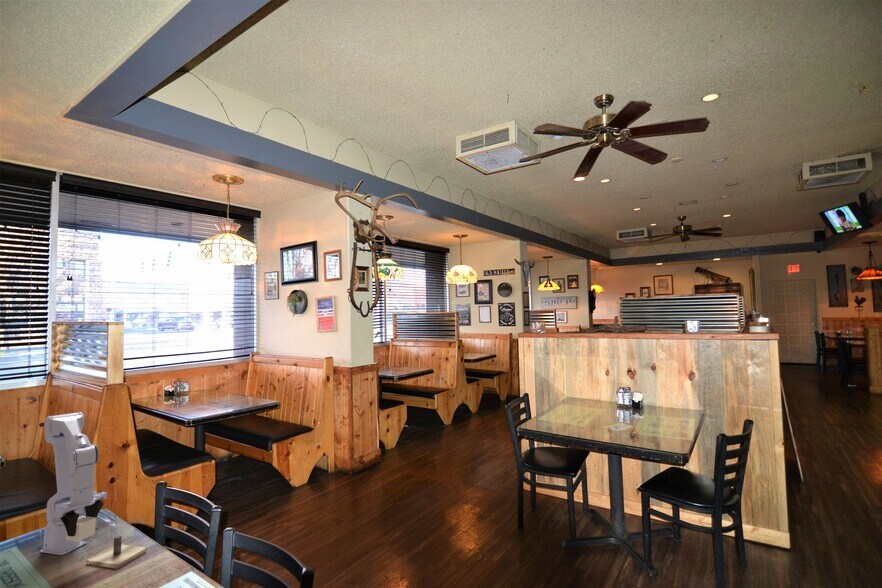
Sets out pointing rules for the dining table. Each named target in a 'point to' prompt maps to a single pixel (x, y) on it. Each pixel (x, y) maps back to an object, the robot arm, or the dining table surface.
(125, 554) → the roll holder
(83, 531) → the hollow square tube
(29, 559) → the dining table surface
